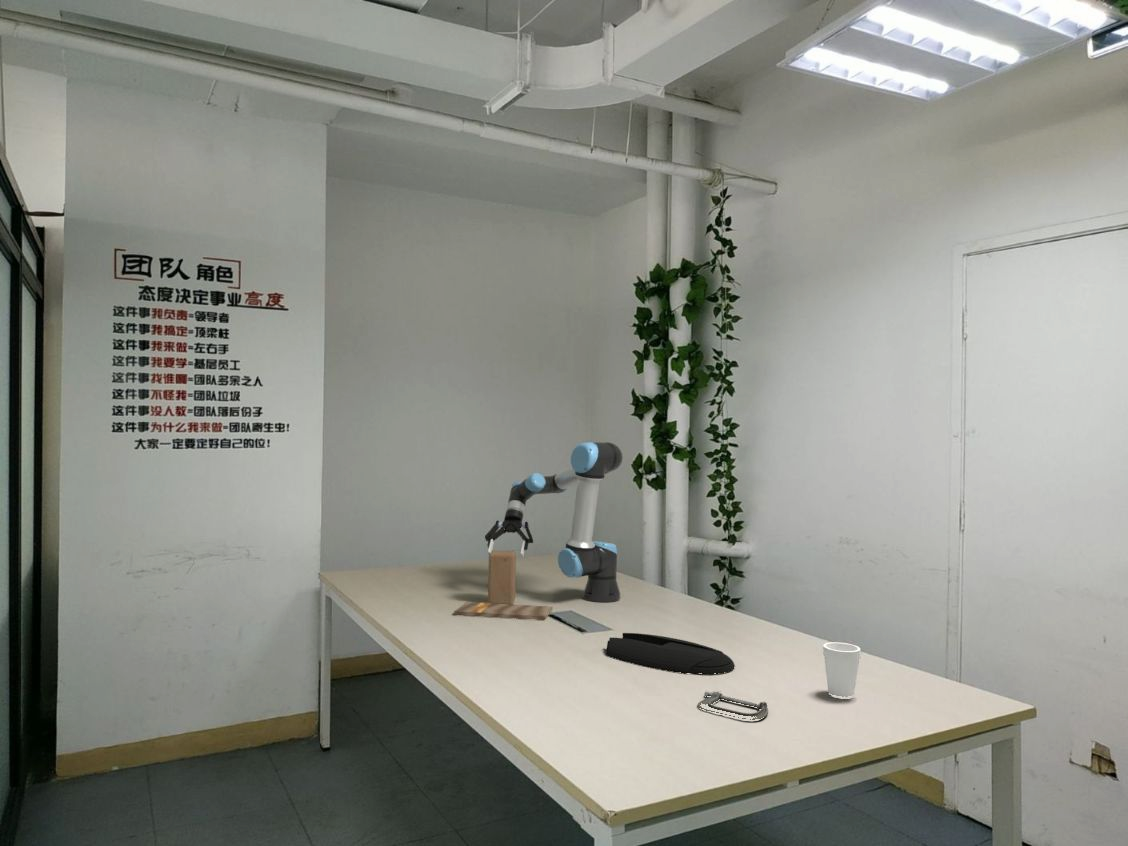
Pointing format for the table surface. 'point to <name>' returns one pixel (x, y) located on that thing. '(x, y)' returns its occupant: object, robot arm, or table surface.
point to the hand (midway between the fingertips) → (505, 554)
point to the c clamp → (716, 696)
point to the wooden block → (502, 577)
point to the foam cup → (841, 667)
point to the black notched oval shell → (668, 654)
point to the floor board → (504, 610)
